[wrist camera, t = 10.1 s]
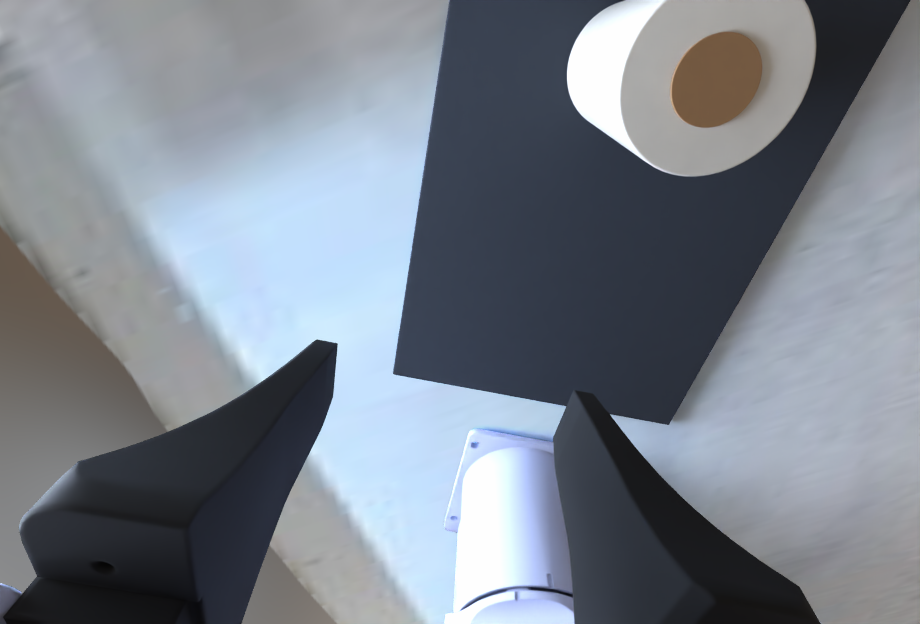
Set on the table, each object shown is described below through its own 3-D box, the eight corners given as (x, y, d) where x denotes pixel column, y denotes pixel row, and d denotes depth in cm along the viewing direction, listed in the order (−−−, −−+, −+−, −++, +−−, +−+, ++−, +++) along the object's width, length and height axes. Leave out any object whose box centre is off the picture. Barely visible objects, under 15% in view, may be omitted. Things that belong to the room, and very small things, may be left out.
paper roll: (758, 193, 12) (863, -10, 10) (592, 158, 12) (663, -58, 10) (657, 140, 19) (705, 14, 17) (552, 117, 19) (588, -13, 17)
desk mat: (666, 420, 27) (669, 425, 27) (394, 370, 26) (392, 374, 26) (928, -46, 16) (938, -47, 16) (474, -159, 15) (474, -163, 15)
